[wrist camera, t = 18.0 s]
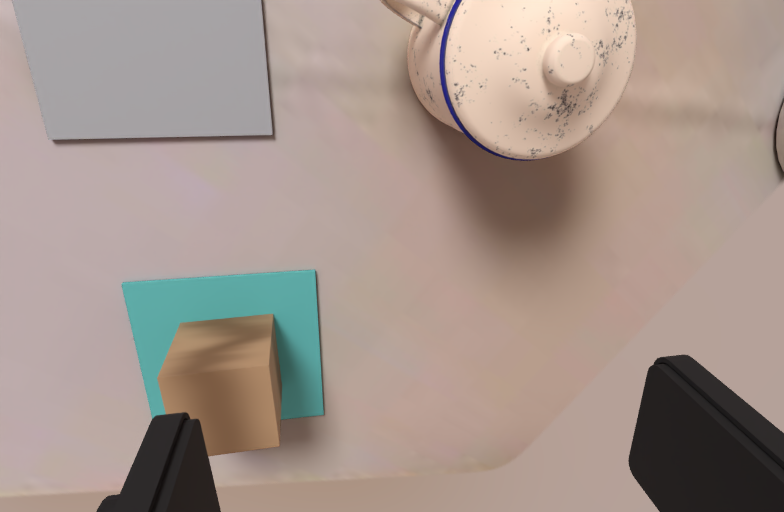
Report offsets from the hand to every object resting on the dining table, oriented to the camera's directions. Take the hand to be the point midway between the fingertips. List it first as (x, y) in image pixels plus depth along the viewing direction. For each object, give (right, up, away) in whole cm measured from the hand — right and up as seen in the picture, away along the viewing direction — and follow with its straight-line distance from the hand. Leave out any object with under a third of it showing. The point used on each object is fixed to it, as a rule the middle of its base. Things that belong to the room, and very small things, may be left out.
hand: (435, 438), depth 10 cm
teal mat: (-12, -3, +24) cm, 27 cm away
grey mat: (-14, +16, +16) cm, 26 cm away
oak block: (-12, -3, +24) cm, 27 cm away
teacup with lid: (+3, +16, +19) cm, 25 cm away
